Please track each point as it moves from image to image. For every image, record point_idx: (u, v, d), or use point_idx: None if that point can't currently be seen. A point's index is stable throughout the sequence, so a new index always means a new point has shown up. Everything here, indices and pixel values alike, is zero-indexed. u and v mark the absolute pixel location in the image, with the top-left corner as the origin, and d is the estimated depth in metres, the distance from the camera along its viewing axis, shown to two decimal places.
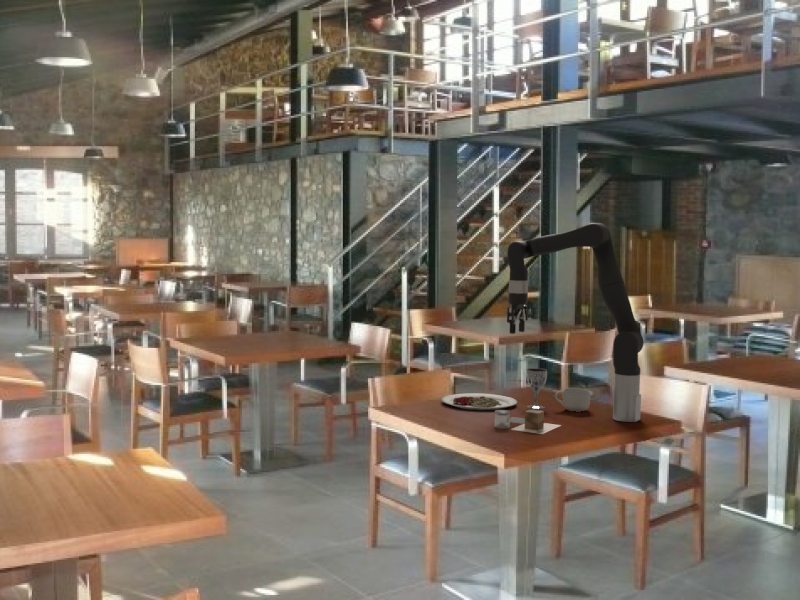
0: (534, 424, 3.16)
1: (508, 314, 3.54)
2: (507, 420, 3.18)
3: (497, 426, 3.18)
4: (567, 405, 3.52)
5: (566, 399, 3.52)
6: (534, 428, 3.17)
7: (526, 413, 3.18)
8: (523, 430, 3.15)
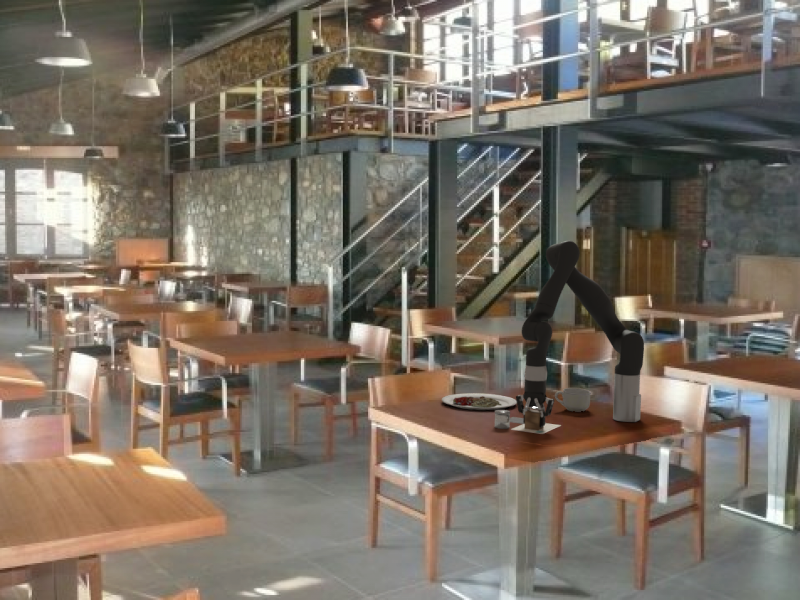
0: (534, 424, 3.16)
1: (550, 407, 3.15)
2: (507, 420, 3.18)
3: (497, 426, 3.18)
4: (567, 405, 3.52)
5: (566, 399, 3.52)
6: (534, 428, 3.16)
7: (526, 413, 3.18)
8: (523, 430, 3.15)
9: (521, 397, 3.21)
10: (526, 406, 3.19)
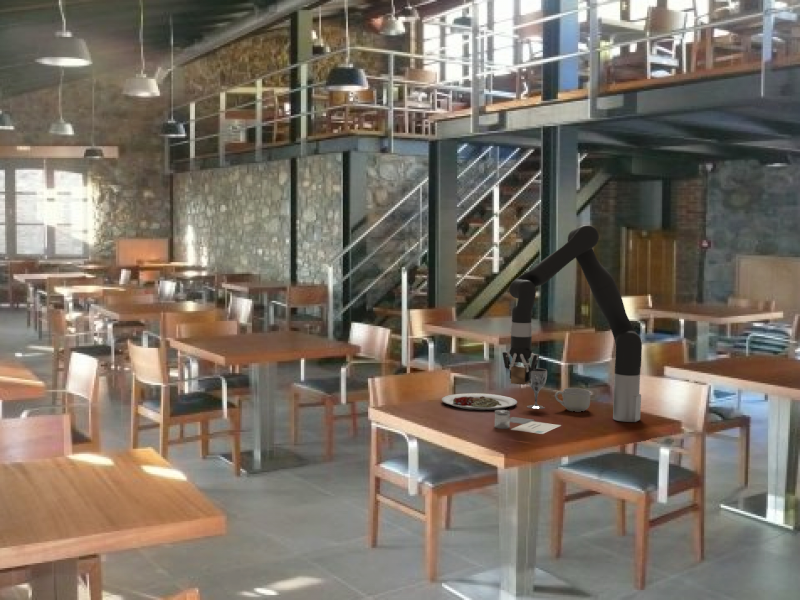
0: (520, 379, 3.28)
1: (535, 362, 3.27)
2: (507, 420, 3.18)
3: (497, 426, 3.18)
4: (567, 405, 3.52)
5: (566, 399, 3.52)
6: (520, 383, 3.28)
7: (512, 368, 3.30)
8: (523, 430, 3.15)
9: (507, 353, 3.33)
10: (512, 362, 3.30)
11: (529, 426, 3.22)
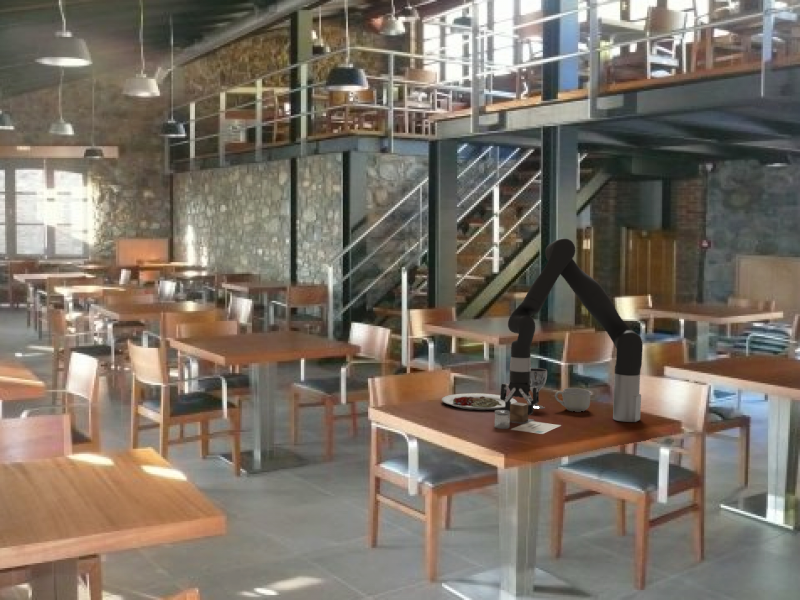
0: (519, 416, 3.29)
1: (536, 394, 3.27)
2: (507, 420, 3.18)
3: (497, 426, 3.18)
4: (567, 405, 3.52)
5: (566, 399, 3.52)
6: (519, 420, 3.29)
7: (511, 406, 3.31)
8: (523, 430, 3.15)
9: (506, 386, 3.34)
10: (509, 395, 3.32)
11: (529, 426, 3.22)
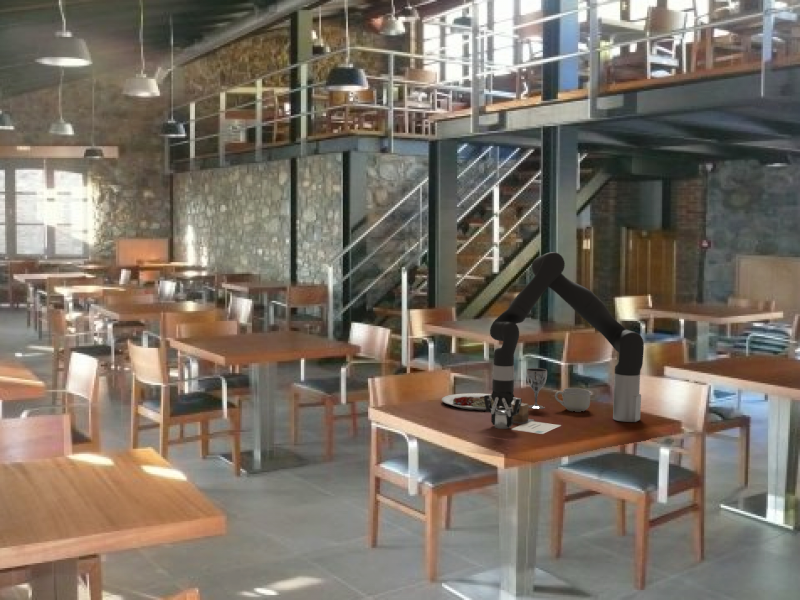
0: (519, 416, 3.29)
1: (518, 407, 3.16)
2: None
3: (497, 426, 3.18)
4: (567, 405, 3.52)
5: (566, 399, 3.52)
6: (519, 420, 3.29)
7: None
8: (523, 430, 3.15)
9: (489, 397, 3.22)
10: (494, 406, 3.20)
11: (529, 426, 3.22)
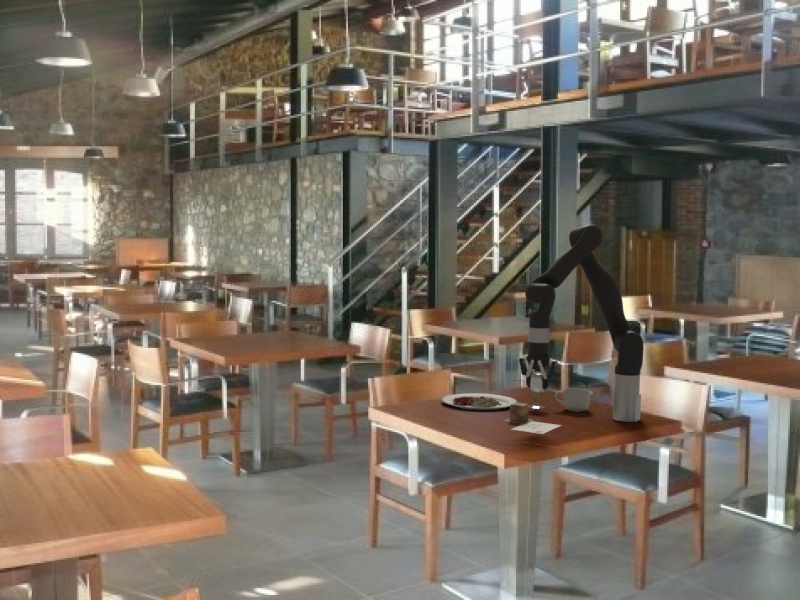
0: (519, 416, 3.29)
1: (553, 369, 3.15)
2: None
3: (533, 388, 3.18)
4: (567, 405, 3.52)
5: (566, 399, 3.52)
6: (519, 420, 3.29)
7: (511, 406, 3.31)
8: (523, 430, 3.15)
9: (524, 359, 3.21)
10: (529, 368, 3.19)
11: (529, 426, 3.22)
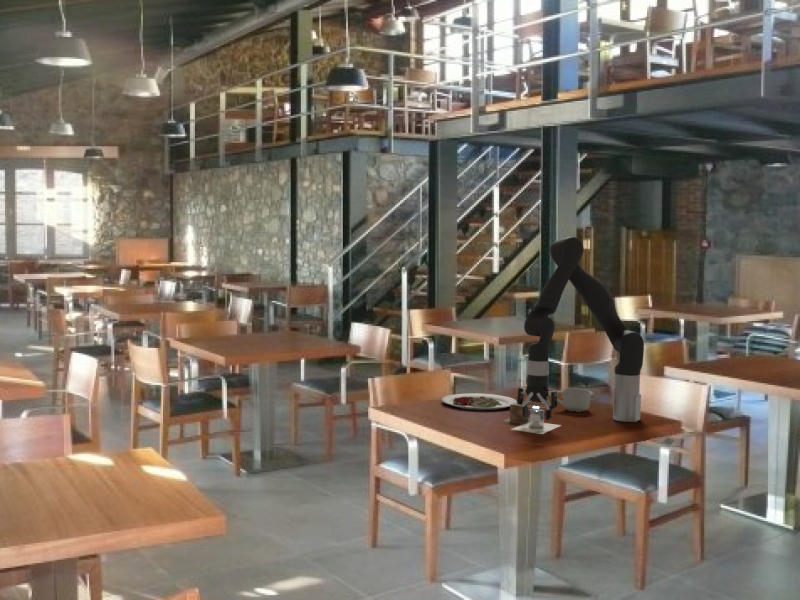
0: (519, 416, 3.29)
1: (554, 399, 3.16)
2: (542, 419, 3.19)
3: (532, 425, 3.19)
4: (567, 405, 3.52)
5: (566, 399, 3.52)
6: (519, 420, 3.29)
7: (511, 406, 3.31)
8: (523, 430, 3.15)
9: (523, 390, 3.22)
10: (527, 399, 3.20)
11: None
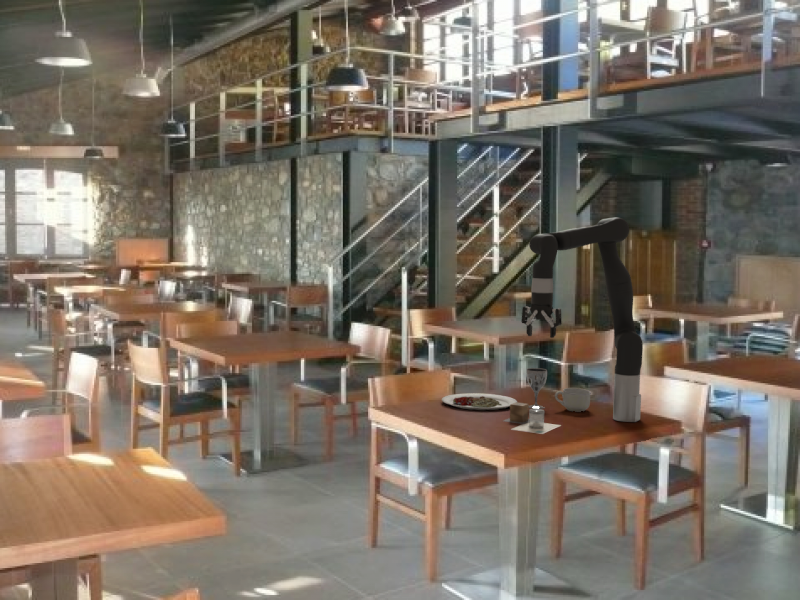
0: (519, 416, 3.29)
1: (559, 316, 3.18)
2: (542, 419, 3.19)
3: (532, 425, 3.19)
4: (567, 405, 3.52)
5: (566, 399, 3.52)
6: (519, 420, 3.29)
7: (511, 406, 3.31)
8: (523, 430, 3.15)
9: (527, 309, 3.24)
10: (531, 317, 3.22)
11: None
